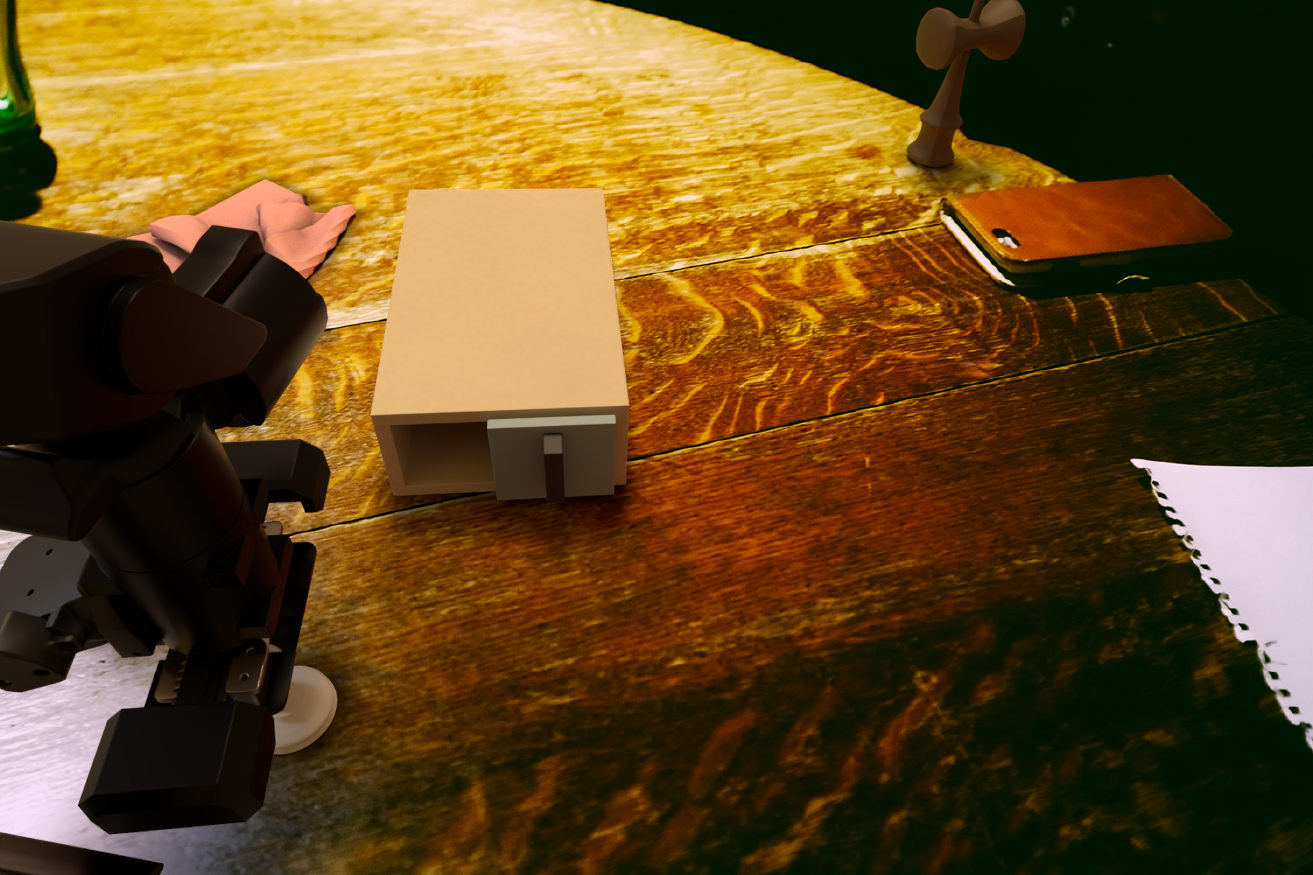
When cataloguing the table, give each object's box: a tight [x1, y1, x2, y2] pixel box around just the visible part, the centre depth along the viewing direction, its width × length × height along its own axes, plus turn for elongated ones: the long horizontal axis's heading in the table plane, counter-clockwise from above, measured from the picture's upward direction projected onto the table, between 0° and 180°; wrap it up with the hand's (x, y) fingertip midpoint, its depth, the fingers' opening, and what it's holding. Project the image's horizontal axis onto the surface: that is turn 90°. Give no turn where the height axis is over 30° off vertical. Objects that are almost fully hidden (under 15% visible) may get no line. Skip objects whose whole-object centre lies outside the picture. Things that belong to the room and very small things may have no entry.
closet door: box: [487, 415, 616, 505], centre depth 54 cm, size 3×8×7 cm, turn 96°
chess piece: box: [263, 638, 338, 755], centre depth 42 cm, size 5×5×10 cm
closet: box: [370, 187, 630, 497], centre depth 63 cm, size 26×16×8 cm, turn 6°
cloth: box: [126, 178, 358, 280], centre depth 74 cm, size 20×22×2 cm
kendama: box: [906, 0, 1026, 168], centre depth 85 cm, size 6×10×20 cm, turn 117°
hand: (278, 688), depth 44 cm, fingers closed on chess piece
